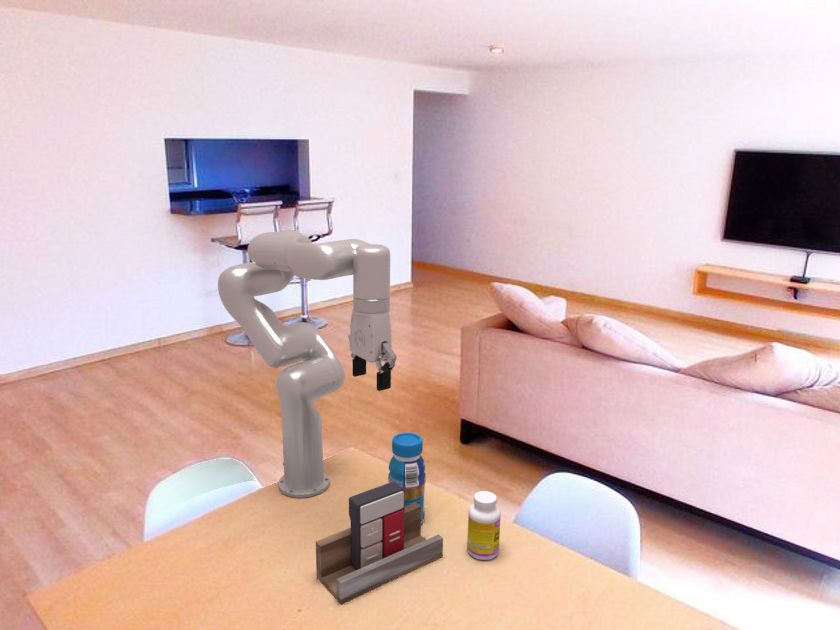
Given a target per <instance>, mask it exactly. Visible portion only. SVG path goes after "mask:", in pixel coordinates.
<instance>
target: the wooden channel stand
mask: <svg viewBox="0 0 840 630" xmlns="http://www.w3.org/2000/svg"><path fill="white" fill-rule="evenodd" d="M443 551H444V537H443V536H441V535H440V534H436V535H434V536H432V537H430V538H427V539H426V537H424V536H422V523H421V506H420V505H419V504H417V503H416V502H415V503H412V504H410V505H407V506H405V507H404V550H402V551H399V552H397V553H395V554H393V555H390V556H388V557H386V558H383V559H381V560H379V561H377V562H374V563H372V564H370V565H368V566H365V567H363V568H361V569H358V570H356V569H355V568H354V567H353V566H352V565H351V527H349V528H346V529H343V530H341V531H338V532H336V533H333V534H331V535H328V536H325V537H322V538H320V539H318V540H316V541H315V562H316V563H315V567H316V569H315V570H316V578H317V579H318V580H319V581H320V582H321V584H322V585H323V586H324V587H325V588H326V589H327V590H328V591H329V593H330V594H331V595H332V596H333V597H334V599H336V600H337V601H338V603H339V604H340V605H343V604H345V603H348V602H349V601H351V600H354V599H355V598H358V597H360V596H362V595H364V594H366V593H368V592H369V593H370V592H371V591H373V590H374V589H375V590H376V588H377V589H378V588H379V587H381V586H383V585H386V584H388V583H390V582H392V581H394V580H397V579H398V578H400V577H401V578H402V576H405V575H407V574H409V573H411V572H414V571H416V570H417V569H420V568H423V567H424V566H426V565H429V564H431V563H433V562H435V561H437V560H439V559H441V558H443V553H444V552H443Z"/></svg>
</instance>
